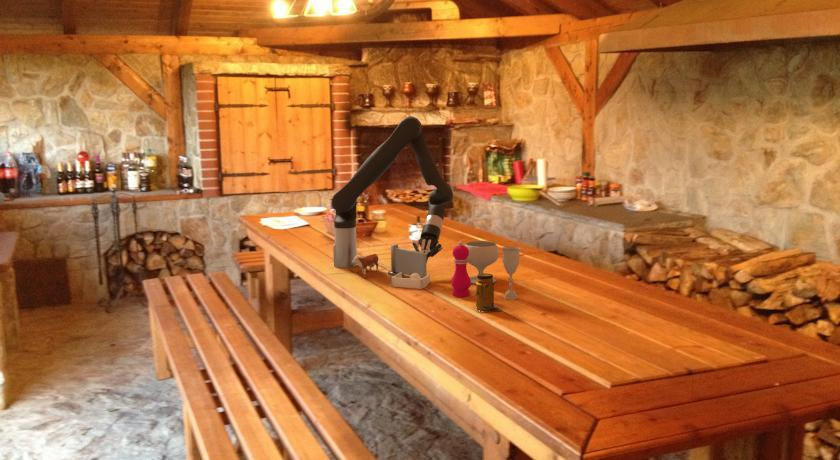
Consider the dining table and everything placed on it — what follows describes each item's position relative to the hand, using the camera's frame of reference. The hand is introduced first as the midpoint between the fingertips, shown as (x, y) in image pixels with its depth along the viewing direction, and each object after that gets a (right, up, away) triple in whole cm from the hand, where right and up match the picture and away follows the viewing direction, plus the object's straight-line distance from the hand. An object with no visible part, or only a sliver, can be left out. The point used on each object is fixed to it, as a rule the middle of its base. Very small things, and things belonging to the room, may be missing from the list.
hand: (422, 264), depth 283 cm
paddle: (-6, -4, +4) cm, 8 cm away
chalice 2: (+32, -11, -28) cm, 44 cm away
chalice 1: (+23, -7, -4) cm, 24 cm away
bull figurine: (-23, -4, +13) cm, 27 cm away
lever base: (-11, -4, +11) cm, 16 cm away
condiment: (+22, -13, -41) cm, 49 cm away
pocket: (-4, -7, -7) cm, 11 cm away
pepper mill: (+14, -10, -23) cm, 29 cm away
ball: (-4, -5, -7) cm, 9 cm away
